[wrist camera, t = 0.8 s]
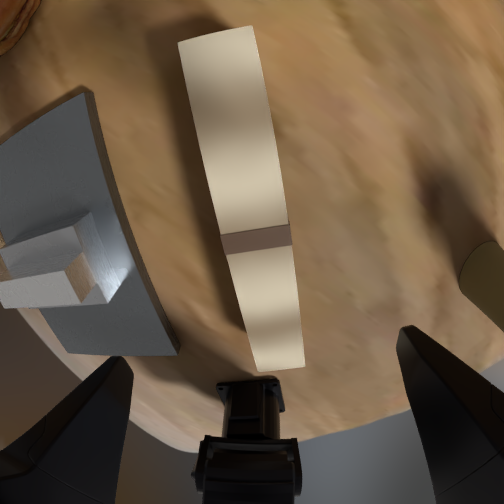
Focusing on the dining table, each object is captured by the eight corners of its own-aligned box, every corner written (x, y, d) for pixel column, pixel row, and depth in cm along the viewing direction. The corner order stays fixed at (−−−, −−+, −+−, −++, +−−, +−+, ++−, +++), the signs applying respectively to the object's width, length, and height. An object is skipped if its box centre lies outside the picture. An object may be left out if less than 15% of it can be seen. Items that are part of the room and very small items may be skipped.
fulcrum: (180, 345, 24) (165, 399, 19) (72, 345, 26) (50, 384, 21) (93, 92, 14) (34, 94, 9) (-13, 159, 16) (-58, 180, 11)
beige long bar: (301, 333, 23) (305, 367, 20) (258, 339, 24) (257, 372, 20) (254, 42, 13) (253, 24, 10) (193, 55, 14) (176, 42, 10)
